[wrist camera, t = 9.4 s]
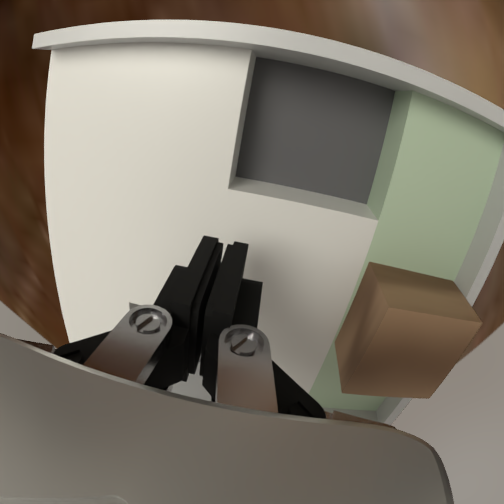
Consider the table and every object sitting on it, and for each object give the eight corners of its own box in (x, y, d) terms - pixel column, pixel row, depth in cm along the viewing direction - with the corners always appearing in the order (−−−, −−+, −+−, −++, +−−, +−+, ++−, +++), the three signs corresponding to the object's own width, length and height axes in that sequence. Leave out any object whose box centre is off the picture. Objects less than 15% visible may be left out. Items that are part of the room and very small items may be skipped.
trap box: (81, 40, 12) (34, 34, 9) (490, 119, 12) (537, 130, 9) (88, 335, 22) (64, 371, 18) (374, 390, 21) (383, 433, 18)
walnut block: (368, 261, 14) (389, 307, 11) (452, 280, 14) (482, 322, 11) (334, 342, 16) (341, 393, 13) (412, 352, 16) (429, 398, 13)
